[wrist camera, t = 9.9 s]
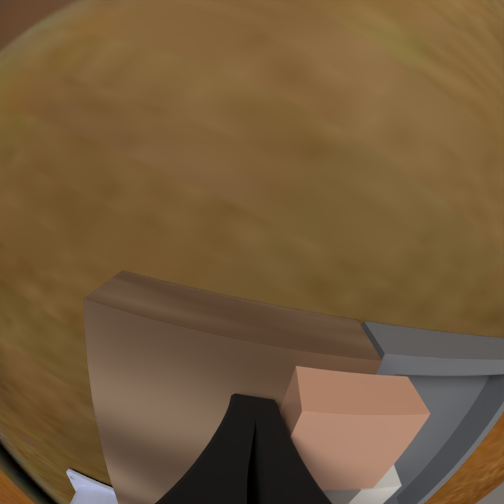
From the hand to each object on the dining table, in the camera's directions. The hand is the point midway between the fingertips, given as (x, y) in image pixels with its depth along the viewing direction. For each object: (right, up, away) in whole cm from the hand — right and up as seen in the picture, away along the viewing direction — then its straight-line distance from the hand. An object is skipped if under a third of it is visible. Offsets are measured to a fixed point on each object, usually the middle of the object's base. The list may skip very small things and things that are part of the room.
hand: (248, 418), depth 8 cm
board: (-2, -4, +5) cm, 6 cm away
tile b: (+3, -1, +1) cm, 3 cm away
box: (+8, -6, +5) cm, 11 cm away
